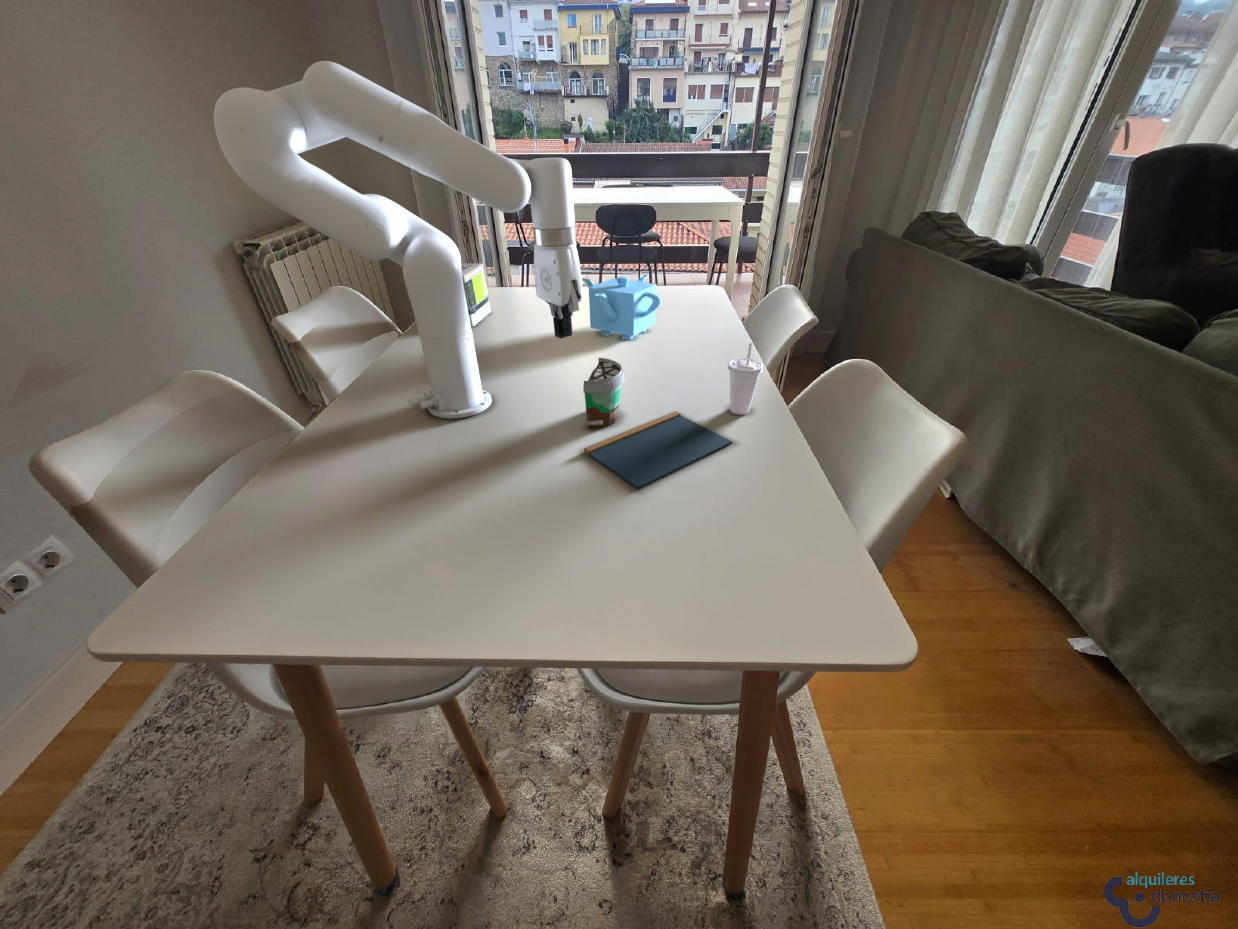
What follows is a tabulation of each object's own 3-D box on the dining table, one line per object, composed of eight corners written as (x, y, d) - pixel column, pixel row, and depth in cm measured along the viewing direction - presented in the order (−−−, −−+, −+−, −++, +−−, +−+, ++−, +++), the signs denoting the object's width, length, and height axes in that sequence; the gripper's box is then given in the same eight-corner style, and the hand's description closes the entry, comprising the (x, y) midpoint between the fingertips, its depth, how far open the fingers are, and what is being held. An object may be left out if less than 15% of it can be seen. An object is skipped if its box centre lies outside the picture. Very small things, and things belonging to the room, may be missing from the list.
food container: (618, 435, 93) (617, 384, 87) (585, 432, 94) (582, 382, 88) (630, 405, 103) (630, 358, 97) (600, 403, 104) (599, 356, 99)
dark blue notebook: (637, 489, 78) (637, 485, 78) (584, 452, 88) (583, 448, 88) (732, 443, 90) (732, 439, 89) (675, 414, 99) (675, 410, 99)
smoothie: (736, 420, 97) (746, 350, 89) (716, 407, 102) (723, 339, 94) (762, 413, 99) (774, 344, 92) (741, 400, 104) (750, 334, 97)
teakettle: (664, 340, 135) (666, 283, 127) (595, 346, 132) (593, 288, 124) (645, 319, 151) (646, 267, 143) (583, 324, 148) (580, 271, 140)
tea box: (461, 311, 160) (452, 262, 152) (491, 312, 159) (484, 262, 150) (440, 326, 147) (429, 273, 139) (473, 327, 146) (464, 274, 138)
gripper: (516, 235, 95) (528, 331, 105) (560, 245, 85) (569, 350, 95) (550, 230, 98) (559, 323, 108) (596, 239, 89) (601, 341, 99)
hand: (563, 335), depth 102 cm, fingers closed
